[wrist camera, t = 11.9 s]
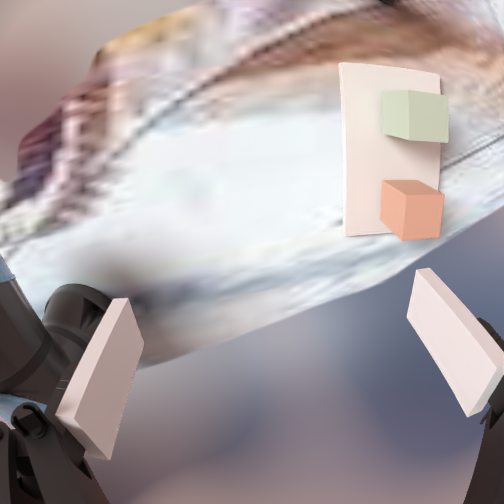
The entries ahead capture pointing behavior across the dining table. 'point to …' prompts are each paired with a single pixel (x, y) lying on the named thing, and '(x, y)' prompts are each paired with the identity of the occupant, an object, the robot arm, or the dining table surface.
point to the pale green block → (415, 115)
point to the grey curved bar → (388, 1)
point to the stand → (386, 158)
